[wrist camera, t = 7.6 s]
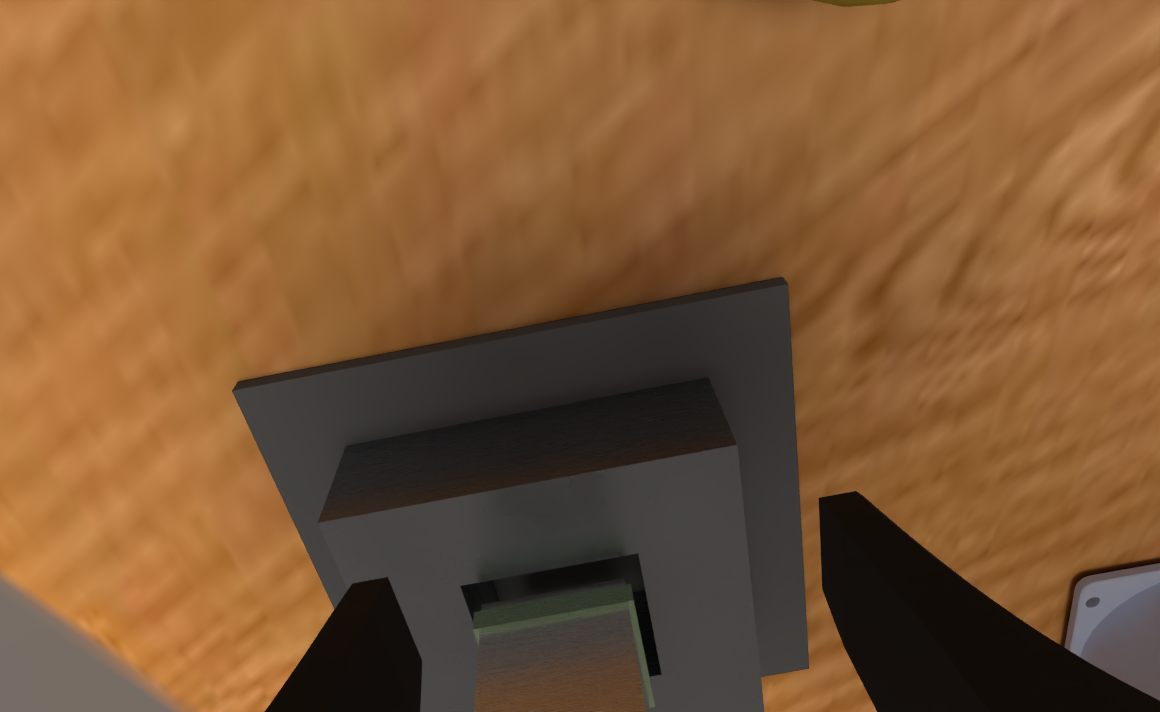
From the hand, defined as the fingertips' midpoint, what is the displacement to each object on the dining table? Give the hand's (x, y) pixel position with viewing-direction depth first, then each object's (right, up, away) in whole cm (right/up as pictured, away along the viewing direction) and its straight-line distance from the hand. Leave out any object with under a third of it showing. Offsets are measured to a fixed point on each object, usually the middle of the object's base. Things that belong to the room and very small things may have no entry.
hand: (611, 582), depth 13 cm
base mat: (-1, -2, +13) cm, 13 cm away
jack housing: (-1, -2, +13) cm, 13 cm away
